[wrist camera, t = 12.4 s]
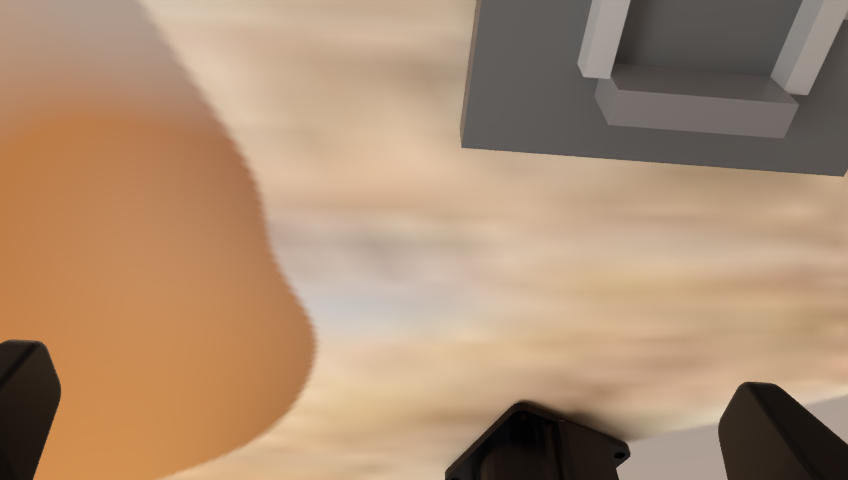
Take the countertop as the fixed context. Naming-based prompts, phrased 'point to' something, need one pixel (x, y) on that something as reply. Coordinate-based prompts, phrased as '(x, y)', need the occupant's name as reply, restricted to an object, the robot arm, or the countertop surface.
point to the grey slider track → (663, 81)
